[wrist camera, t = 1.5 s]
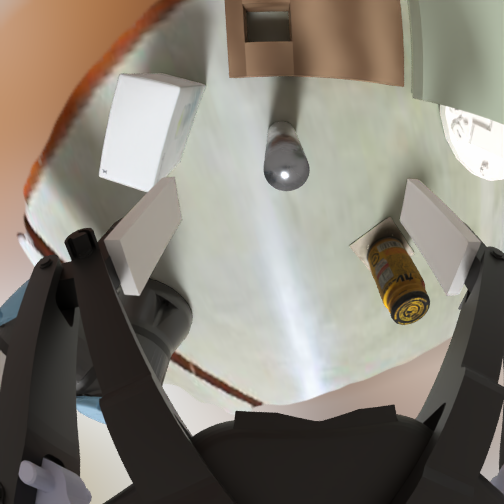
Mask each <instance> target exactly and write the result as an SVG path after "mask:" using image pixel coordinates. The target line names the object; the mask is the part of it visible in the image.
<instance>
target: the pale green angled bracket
mask: <svg viewBox="0 0 504 504" xmlns="http://www.w3.org/2000/svg"><path fill="white" fill-rule="evenodd" d="M408 8H409V17H410V30H411V49H412V93H413V98H414V99H419V100H423V101H428V102H432V103H436V104H440V105H444V106H448V107H452V108H455V109H459V110H462V111H465V112H469V113H472V114H475V115H478V116H481V117H484V118H487V119H490V120H493V121H495V122H498V123H501V124H503V125H504V0H408Z"/></svg>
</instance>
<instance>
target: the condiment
mask: <svg viewBox="0 0 504 504" xmlns="http://www.w3.org/2000/svg"><path fill="white" fill-rule="evenodd" d="M392 235H393V236H392ZM368 245H369V246H368ZM349 247H350V248H351V249H352V250H353V251H354V253H355V254H356V255H357V256H358V257H359V258H360V260H361V261H362V262H363V263H364V264H365V265H366V266H367V268H368V269H369V270H370V271H371V272H372V275H373V277H374V279H375V282H376V285H377V288H378V289H379V293H380V296H381V298H382V301H383V303H384V305H385V307H386V308H387V309H388V310H389V312H390V313H391V318H392V319H393V320H394V321H395V322H396V323H397V324H401V325H407V324H411V323H414V322H416V321H418V320H419V319H420V318H422V317H423V316H424V315H425V314H426V312H427V311H428V309H429V306H430V299H429V296H428V295H427V292H426V290H425V283H424V281H423V278H422V277H421V275H420V273H419V271H418V270H417V268H416V266H415V264H414V263H413V261H412V259H411V256H412V255H413V254H414V252H413V250H412V249H411V247H410V246H409V244H408V243H407V241H406V239H405V238H404V236H403V235H402V233H401V232H400V230H399V229H398V227H397V226H396V224H395V223H394V222H393V220H392V219H391V217H388V218H387V219H386V220H384V221H383V222H381V223H380V224H378V225H377V226H375V227H374V228H373V229H371V230H370V231H369V232H367V233H365V235H363V236H362V237H361V238H359V239H358V240H356V241H355V242H354V243H353V244H351V245H350V246H349ZM367 248H368V249H367Z"/></svg>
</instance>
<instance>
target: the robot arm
mask: <svg viewBox="0 0 504 504" xmlns="http://www.w3.org/2000/svg"><path fill="white" fill-rule="evenodd" d="M181 221H182V216H181V211H180V205H179V200H178V194H177V188H176V182H175V177H164V178H161V179H160V180H159V181H158V182H157V183H156V184H155V185H154V186H153V187H152V188H151V189H150V190H149V191H148V192H147V193H146V194H145V196H144V197H143V198H142V199H141V200H140V201H139V202H138V203H137V204H136V205H135V206H134V207H133V208H132V209H131V210H130V211H129V212H128V213H127V215H126V216H125V217H123V218H121V219H120V220H118V221H117V222H115V223H114V224H113V225H112V227H111V228H110V229H109V230H108V231H107V232H106V234H104V236H103V237H102V238H101V239H100V240H99V241H98V242H97V240H96V237H95V234H94V231H93V230H92V229H91V228H83V229H80V230H77V231H75V232H73V233H72V234H71V235H69V236H68V237H67V238H66V240H65V245H66V248H67V250H68V253H69V255H70V257H71V260H72V261H71V262H66V263H62V264H61V262H60V260H59V258H58V256H57V255H49V256H47V257H44V258H43V259H41V260H40V261H39V262H38V263H37V264H36V266H35V267H34V270H33V272H32V275H31V277H30V279H29V280H28V281H26V282H25V283H24V284H23V285H22V286H21V287H20V288H19V289H18V290H17V291H16V292H15V293H14V294H13V295H12V296H11V297H10V298H9V299H8V300H7V301H6V302H5V303H4V304H3V305H2V306H1V308H0V504H89V503H90V501H91V497H92V496H91V493H90V491H89V490H88V489H87V488H86V486H85V484H84V482H83V481H82V480H81V478H80V455H79V454H80V453H79V440H78V429H77V413H76V412H77V411H76V409H77V410H78V411H79V412H80V413H82V414H84V415H85V416H87V417H89V418H91V419H94V420H96V421H98V422H101V423H104V424H106V425H107V428H108V430H109V433H110V435H111V437H112V440H113V442H114V444H115V447H116V449H117V451H118V454H119V456H120V458H121V460H122V462H123V464H124V466H125V468H126V470H127V472H128V474H129V476H130V478H131V480H132V482H133V484H131V485H130V486H128V487H127V488H126V489H124V490H123V491H121V492H120V493H118V494H117V495H115V496H114V497H112V498H111V499H109V500H108V501H106V502H105V503H103V504H504V407H503V423H502V433H501V443H500V459H499V474H498V475H497V476H495V477H494V478H493V479H492V480H491V482H489V481H488V480H487V479H486V478H485V477H484V476H483V475H481V474H480V471H481V469H482V466H483V464H484V461H485V459H486V456H487V454H488V451H489V448H490V445H491V442H492V439H493V436H494V433H495V430H496V426H497V423H498V420H499V416H500V412H501V408H502V404H503V400H504V387H503V386H501V385H499V384H498V380H499V375H500V370H501V365H502V359H503V367H504V253H503V252H502V251H500V250H499V249H497V248H494V247H486V246H485V244H484V243H483V242H482V241H481V240H480V239H479V238H478V237H477V235H475V233H474V232H473V231H471V229H470V228H469V227H468V226H467V224H465V223H464V222H463V221H462V220H461V219H460V218H459V217H458V216H457V215H456V214H455V213H454V212H453V211H452V210H451V209H450V208H449V207H448V206H447V205H446V204H445V203H444V202H443V201H442V200H441V199H440V198H438V197H437V196H436V195H435V194H434V193H433V192H432V191H431V190H430V189H429V188H428V187H427V186H425V185H424V184H423V183H422V182H421V181H420V180H419V179H410V178H408V179H407V185H406V191H405V196H404V202H403V207H402V212H401V217H400V222H401V224H402V225H403V226H404V228H405V229H406V231H407V232H408V234H409V235H410V237H411V238H412V240H413V241H414V243H415V244H416V246H417V247H418V249H419V250H420V252H421V253H422V255H423V257H424V258H425V260H426V261H427V263H428V265H429V266H430V268H431V270H432V271H433V273H434V275H435V276H436V278H437V280H438V281H439V283H440V285H441V287H442V289H443V290H444V292H445V294H446V296H450V295H459V294H460V292H461V290H462V287H463V285H464V284H465V285H466V287H467V289H468V290H467V292H466V294H465V296H464V298H463V300H462V302H461V304H460V306H459V308H458V309H459V310H460V309H461V311H460V315H459V318H458V321H457V324H456V328H455V331H454V334H453V337H452V339H451V342H450V345H449V348H448V351H447V353H446V356H445V358H444V361H443V364H442V366H441V368H440V371H439V373H438V376H437V378H436V380H435V383H434V385H433V387H432V389H431V391H430V393H429V395H428V398H427V400H426V402H425V404H424V406H423V408H422V410H421V412H420V413H419V415H418V416H417V418H416V419H413V418H410V417H407V416H402V415H398V414H396V410H395V405H388V406H381V407H373V408H365V409H358V410H355V411H352V412H349V413H346V414H343V415H340V416H337V417H334V418H331V419H327V420H324V421H312V420H307V419H302V418H297V417H293V416H288V415H284V414H280V413H269V412H268V413H267V412H246V411H236V412H235V420H234V421H228V422H224V423H219V424H216V425H214V426H211V427H209V428H207V429H205V430H203V431H201V432H199V433H197V434H196V435H194V436H192V435H191V433H190V432H189V430H188V429H187V427H186V426H185V424H184V423H183V421H182V420H181V418H180V417H179V415H178V413H177V412H176V410H175V409H174V407H173V405H172V403H171V402H170V400H169V398H168V396H167V395H166V393H165V391H164V389H163V388H162V385H163V382H164V378H165V375H166V371H167V368H168V364H169V361H170V358H171V355H172V354H173V353H174V351H175V350H176V349H177V348H178V346H179V345H180V344H181V343H182V341H183V340H184V339H185V338H186V337H187V335H188V333H189V331H190V327H191V324H192V312H191V310H190V307H189V306H188V304H187V302H186V301H185V300H184V299H183V298H182V297H181V296H180V295H179V294H178V293H177V292H176V291H174V290H173V289H172V288H170V287H168V286H166V285H165V284H162V283H160V282H158V281H155V280H151V279H149V277H150V275H151V274H152V272H153V270H154V268H155V266H156V264H157V263H158V261H159V259H160V257H161V255H162V254H163V252H164V250H165V248H166V247H167V245H168V243H169V241H170V240H171V238H172V236H173V234H174V233H175V231H176V229H177V228H178V226H179V224H180V223H181ZM120 284H121V285H120ZM119 285H120V286H119ZM116 290H117V291H116Z"/></svg>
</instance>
